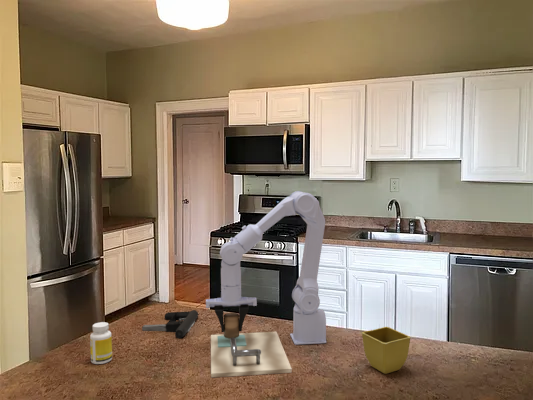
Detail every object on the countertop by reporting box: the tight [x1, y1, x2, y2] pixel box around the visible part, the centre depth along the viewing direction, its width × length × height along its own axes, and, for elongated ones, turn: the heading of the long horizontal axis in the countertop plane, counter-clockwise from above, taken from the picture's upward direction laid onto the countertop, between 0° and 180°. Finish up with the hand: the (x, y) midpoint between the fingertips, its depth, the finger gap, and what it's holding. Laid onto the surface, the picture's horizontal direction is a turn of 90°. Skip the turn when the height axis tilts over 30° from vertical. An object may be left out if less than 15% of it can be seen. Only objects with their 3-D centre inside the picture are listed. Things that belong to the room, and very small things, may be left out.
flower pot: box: [361, 326, 412, 375], centre depth 115 cm, size 9×9×9 cm
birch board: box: [210, 331, 293, 378], centre depth 125 cm, size 20×26×1 cm
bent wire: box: [230, 337, 261, 366], centre depth 120 cm, size 8×11×4 cm
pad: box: [218, 335, 247, 348], centre depth 131 cm, size 8×8×1 cm
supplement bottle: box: [89, 321, 113, 365], centre depth 121 cm, size 5×5×10 cm
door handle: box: [141, 309, 200, 339], centre depth 147 cm, size 3×20×16 cm
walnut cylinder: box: [223, 312, 240, 338], centre depth 131 cm, size 4×4×6 cm
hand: (231, 330), depth 131 cm, fingers closed on walnut cylinder, 4 cm apart
